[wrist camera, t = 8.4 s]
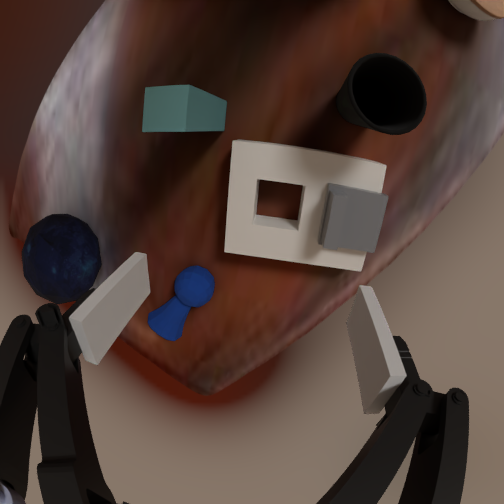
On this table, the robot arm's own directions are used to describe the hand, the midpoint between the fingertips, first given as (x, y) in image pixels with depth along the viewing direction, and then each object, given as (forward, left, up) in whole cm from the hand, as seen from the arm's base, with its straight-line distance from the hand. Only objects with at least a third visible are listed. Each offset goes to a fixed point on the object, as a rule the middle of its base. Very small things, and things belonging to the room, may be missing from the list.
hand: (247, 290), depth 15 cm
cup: (-14, +9, -23) cm, 28 cm away
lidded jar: (-40, +26, -23) cm, 53 cm away
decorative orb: (+11, -32, -23) cm, 41 cm away
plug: (-10, -9, -22) cm, 26 cm away
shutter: (0, +10, -18) cm, 21 cm away
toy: (+19, -12, -23) cm, 32 cm away
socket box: (0, +4, -22) cm, 23 cm away
